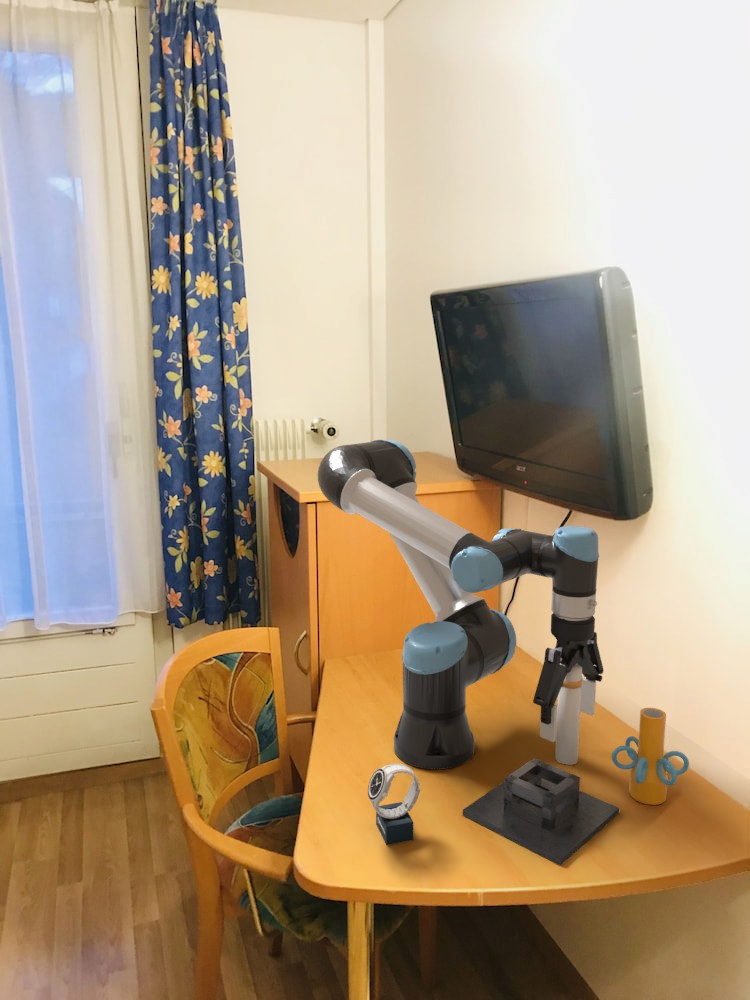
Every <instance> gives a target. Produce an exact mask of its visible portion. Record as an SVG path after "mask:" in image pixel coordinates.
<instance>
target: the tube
mask: <svg viewBox="0 0 750 1000" xmlns="http://www.w3.org/2000/svg"><path fill="white" fill-rule="evenodd" d="M583 678H584V677H583V674H582V667H581V666H580V665H578V664H575V665H574V666H573V667H572V669H571V672H570V673H567V675H566V677H565V680H564V682H563V685H562V687H561V689H560V692H559V694H558V697H557V705H556V706H557V721H556V741H555V754H554V755H555V756H554V759H555V761H556V760H557V761H558V762H557V761H556V762H557V763H559V762H560V763H559V764H561V763H562V764H561V765H564V764H566V765H565V766H572V765H573V764H574V765H575V764H577V763H578V759H579V740H580V739H579V738H580V723H581V722H580V721H581V720H580V719H581V718H580V717H581V712H580V703H581V686H582V680H583Z"/></svg>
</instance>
